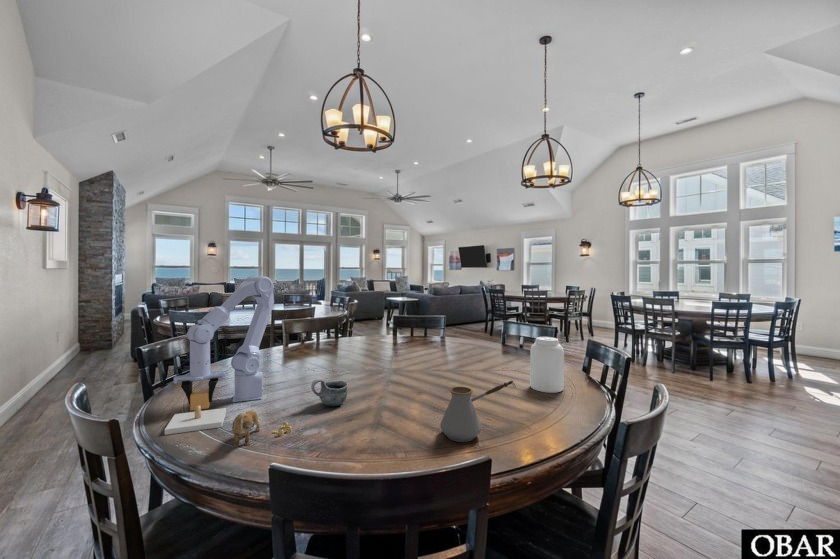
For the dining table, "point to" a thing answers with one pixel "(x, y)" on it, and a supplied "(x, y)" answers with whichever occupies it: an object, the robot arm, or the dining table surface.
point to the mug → (331, 391)
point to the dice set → (283, 429)
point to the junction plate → (196, 420)
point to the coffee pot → (464, 414)
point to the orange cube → (199, 399)
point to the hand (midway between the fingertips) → (200, 402)
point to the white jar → (547, 365)
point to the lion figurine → (244, 426)
